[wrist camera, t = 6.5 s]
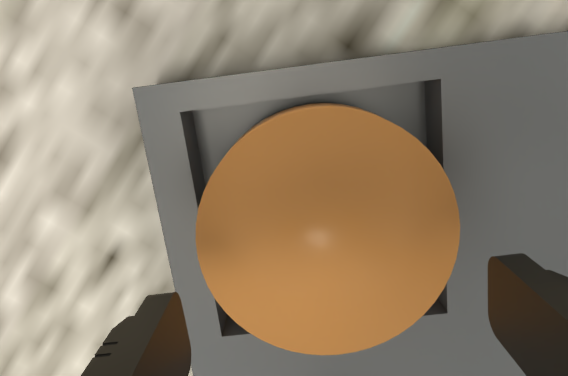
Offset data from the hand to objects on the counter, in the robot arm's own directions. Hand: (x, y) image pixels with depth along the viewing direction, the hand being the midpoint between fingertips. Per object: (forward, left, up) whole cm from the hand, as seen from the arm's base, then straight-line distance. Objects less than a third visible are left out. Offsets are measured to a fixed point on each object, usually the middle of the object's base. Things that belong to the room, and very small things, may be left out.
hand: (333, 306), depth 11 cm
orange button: (0, 0, -6) cm, 6 cm away
